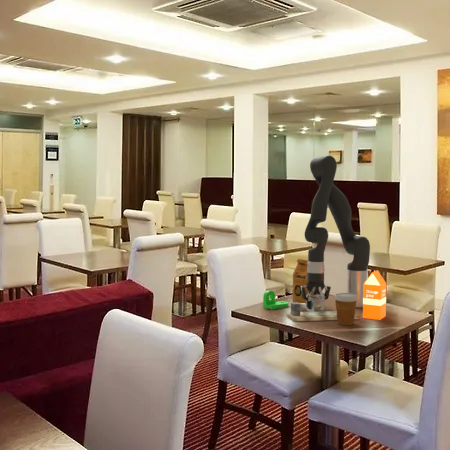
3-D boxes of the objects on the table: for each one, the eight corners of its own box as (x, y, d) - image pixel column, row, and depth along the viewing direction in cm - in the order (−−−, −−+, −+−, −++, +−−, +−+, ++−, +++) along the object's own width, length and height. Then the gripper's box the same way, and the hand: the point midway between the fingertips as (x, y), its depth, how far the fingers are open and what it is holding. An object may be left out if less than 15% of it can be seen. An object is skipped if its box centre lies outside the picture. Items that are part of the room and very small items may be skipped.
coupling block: (316, 309, 268) (316, 294, 268) (324, 314, 258) (325, 298, 257) (305, 309, 268) (306, 294, 267) (313, 314, 257) (314, 298, 256)
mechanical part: (271, 309, 268) (271, 292, 267) (263, 307, 273) (263, 290, 272) (290, 307, 275) (291, 290, 275) (282, 305, 280) (282, 288, 279)
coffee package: (303, 308, 271) (304, 261, 270) (289, 304, 282) (290, 258, 281) (321, 306, 275) (322, 260, 274) (307, 302, 286) (307, 257, 285)
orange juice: (386, 316, 255) (386, 270, 254) (380, 319, 247) (381, 272, 246) (368, 314, 259) (369, 269, 258) (362, 317, 251) (363, 271, 250)
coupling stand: (349, 313, 259) (349, 299, 258) (359, 319, 248) (359, 304, 248) (286, 315, 253) (286, 301, 253) (293, 321, 243) (293, 305, 242)
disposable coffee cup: (329, 323, 239) (329, 294, 238) (342, 320, 246) (342, 291, 245) (348, 327, 232) (349, 297, 232) (361, 323, 239) (362, 294, 238)
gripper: (328, 270, 267) (327, 307, 268) (297, 270, 264) (297, 307, 265) (334, 272, 259) (333, 310, 260) (303, 272, 257) (302, 311, 258)
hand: (315, 308), depth 263 cm, fingers closed on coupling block, 5 cm apart
